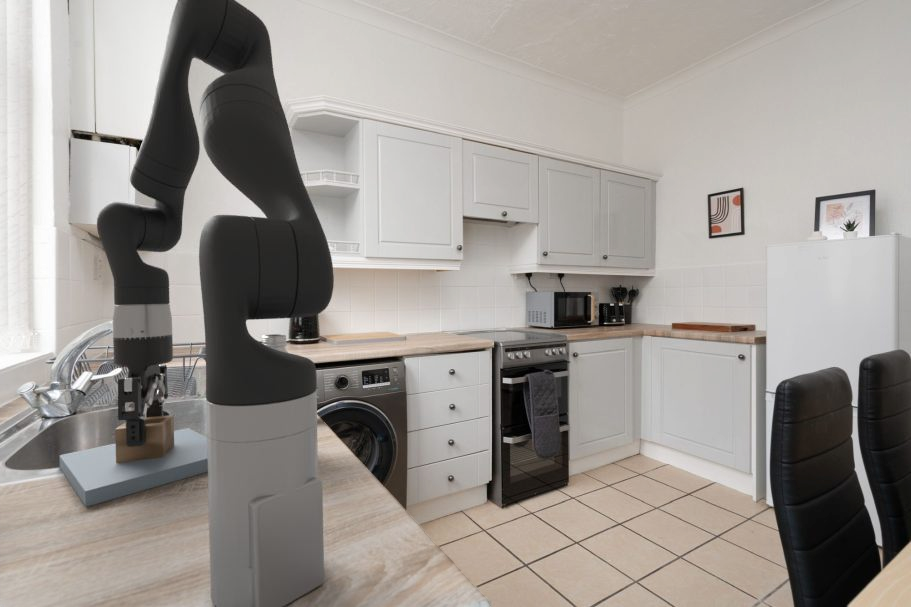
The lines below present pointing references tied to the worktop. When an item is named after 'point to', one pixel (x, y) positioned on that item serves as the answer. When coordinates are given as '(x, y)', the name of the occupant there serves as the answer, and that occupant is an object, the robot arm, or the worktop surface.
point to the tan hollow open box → (147, 440)
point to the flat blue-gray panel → (132, 468)
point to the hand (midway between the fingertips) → (146, 436)
